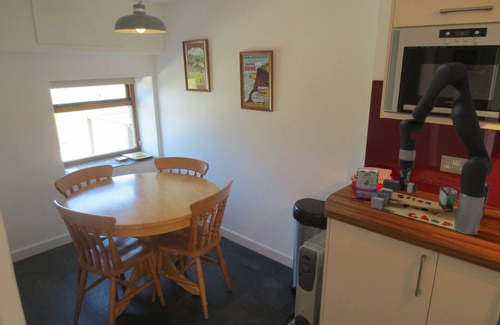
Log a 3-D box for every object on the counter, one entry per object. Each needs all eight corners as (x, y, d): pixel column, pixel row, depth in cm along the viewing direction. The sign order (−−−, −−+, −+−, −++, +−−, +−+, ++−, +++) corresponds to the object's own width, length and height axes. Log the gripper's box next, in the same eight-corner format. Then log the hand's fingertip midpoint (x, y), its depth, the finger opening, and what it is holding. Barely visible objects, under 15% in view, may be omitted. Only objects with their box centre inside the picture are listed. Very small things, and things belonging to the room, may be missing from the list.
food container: (459, 214, 167) (462, 195, 164) (445, 213, 168) (448, 194, 165) (450, 204, 178) (453, 186, 175) (437, 203, 179) (440, 186, 177)
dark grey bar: (416, 191, 175) (417, 183, 174) (414, 193, 172) (415, 186, 171) (384, 185, 185) (385, 178, 183) (382, 187, 181) (383, 180, 180)
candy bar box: (376, 198, 187) (379, 169, 183) (375, 201, 183) (378, 172, 179) (355, 195, 192) (358, 167, 187) (354, 198, 187) (357, 170, 183)
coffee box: (481, 219, 161) (488, 188, 156) (466, 215, 165) (472, 185, 160) (484, 213, 167) (490, 183, 163) (469, 210, 171) (475, 180, 167)
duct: (391, 198, 187) (393, 188, 185) (381, 209, 172) (382, 198, 171) (381, 195, 190) (382, 186, 189) (369, 206, 176) (370, 196, 174)
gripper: (411, 161, 165) (407, 194, 169) (418, 156, 176) (414, 187, 180) (395, 159, 169) (392, 191, 174) (402, 154, 180) (399, 184, 185)
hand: (403, 189), depth 177 cm, fingers closed on dark grey bar, 4 cm apart
